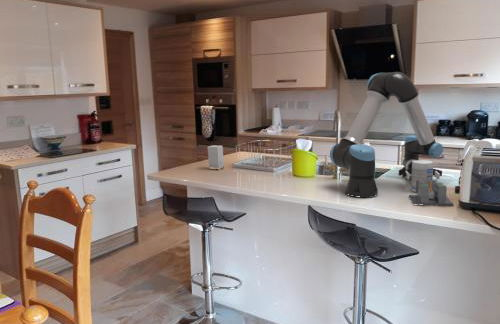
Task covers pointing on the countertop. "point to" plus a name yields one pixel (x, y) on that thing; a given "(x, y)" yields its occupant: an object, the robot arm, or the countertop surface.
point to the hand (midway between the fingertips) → (423, 176)
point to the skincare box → (215, 156)
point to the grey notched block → (439, 195)
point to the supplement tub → (421, 171)
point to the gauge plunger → (430, 183)
